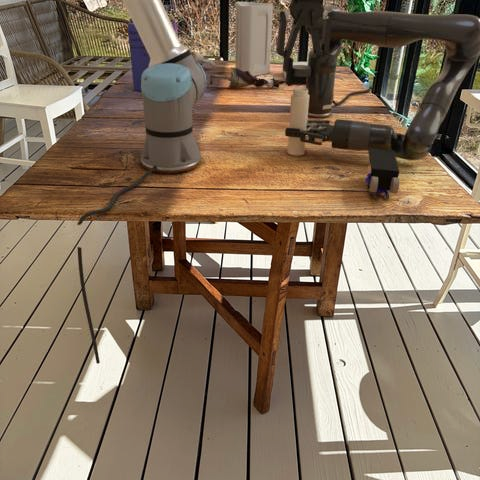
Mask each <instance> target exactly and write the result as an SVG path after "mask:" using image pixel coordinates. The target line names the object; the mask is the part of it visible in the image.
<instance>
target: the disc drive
mask: <svg viewBox="0 0 480 480" xmlns="http://www.w3.org/2000/svg"><path fill="white" fill-rule="evenodd" d="M293 65H306V66H308V61H293ZM281 71H282V74H283V76H284V80H286V72H285V71H284V70H283V69H281ZM306 79H307V77H298V76H293V75H292V81H291V85H306Z"/></svg>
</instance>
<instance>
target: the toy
mask: <svg viewBox="0 0 480 480" xmlns="http://www.w3.org/2000/svg"><path fill="white" fill-rule="evenodd" d="M194 52H195V53H196V59H195V61H196V62H197V63H199V64H200V65H201V66H202V65H204V64H209V65H210V66H211V67H213V68H214V67H217V66H216V63H215V62H214V61H213V60H211V59H209V58H206V59H205V57H204V56H203V55H201V54H198V52H197V51H194Z"/></svg>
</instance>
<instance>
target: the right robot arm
mask: <svg viewBox="0 0 480 480" xmlns="http://www.w3.org/2000/svg"><path fill="white" fill-rule="evenodd" d="M324 9H325V10H328V11H332V12H334V13H335V15H334V18H333V20H332V23H331V34H330V45H329V54H328V55H327V56H326V55H325V56H323V57H322V58H321V60H320V69H319V71H316V73H315V83H314V86H311V85H310V84H309V83H308V81H309V76H308V77H307V79H306V84H305V88H307V89H308V91H309V92H308V94H309V95H310V96H309V107H308V117H309V118H310V117H311V118H318V119H319V118H320V119H321V118H328V117H330V116H332V109H333V108H332V107H333V105H334V106H340V105H341V104H343V103H344V102H345V101H347V100H348V99H349V98H350V97H351V96H353V95H358V94H359V95H360V94H366V93H369V92H371V90H374V87H373V86H372V85H370V86H369V87H368V89H365V90H358V91H352V92H350V93H348V94H347V95H346V96H345V97H343V99H341V101H339V102H337V101H335V99H334V97H335V94H334V90H335V82H336V81H335V80H336V73H337V70H336V69H337V62H338V56H339V55H340V52H341V48H342V43H343V40H345V41H350V42H354V43H359V44H364V45H370V46H375V47H382V48H388V49H389V48H390V49H398V48H402V47H405V46H408V45H411V44H412V43H415V42H417V41H420V40H421V41H422V40H432V41H440V42H444V51H445V53H446V54H445V55H446V56H445V60H444V63H443V67H442V69H441V72H440V73H439V75H438V77H437V78H436V79H435V80H434V81H433V82H432V83H431V84H430V85H429V87H427V89H426V91H425V92H424V94H423V96H422V99H421V101H420V103H419V104H418V107H417V109H416V112H415V114H414V116H413V118H412V119H411V121H410V123H409V125H408V126H407V129H406V131H405V134H403V133H401V132H400V133H399V132H396V131H395V128H394V127H393V126H392V125H389V124H381V123H371V122H367V121H361V120H352V119H350V120H349V119H340V118H338V119H337V118H336V119H335V120H334V122H333V123H334V124H330V121H329V120H317V119H315V120H313V119H312V120H311V119H309V120H308V119H307V129H297V128H289V127H286V128H285V130H284V131H285V132H284V135H285V137H287V138H288V137H297V138H299V139H300V141H301V142H305V144H311V145H317V146H322V145H323V143H325V142H331V148H332V149H337V150H346V151H353V152H354V151H356V152H368V149H378V150H388V151H394V153H395V157H396V158H398V159H401V160H405V161H412V162H413V161H420V160H423V159H425V158H426V157H428V155H429V154H430V152H431V149H432V147H433V144H434V142H435V139H436V137H437V135H438V133H439V129H440V127H441V124H442V123H443V122H444V120H445V118H446V116H447V114H448V111H449V109H450V107H451V105H452V103H453V100H454V98H455V96H456V93H457V91H458V89H459V88H460V86H461V84H462V82H463V81H464V80H465V77H466V75H468V72H469V71H470V69H472V66H473V65H474V64H475V62H476V61H477V59H478V58H479V57H480V17H479V16H476V15H473V14H465V13H464V14H462V13H461V14H454V13H453V14H421V13H405V12H398V11H387V10H386V11H385V10H373V11H371V10H369V11H359V12H358V11H357V12H344V11H343V10H342V9H341V8H340V7H339V6H337V5H333V4H332V5H324ZM323 22H324V19H323V14H322V15H321V17H320V18H319V19H318V21H317V23H318V34H319V41H320V48H321V47H322V34H323ZM304 26H305V29H306V32H307V33H308V34H309V36H311V32H310V28H309V26H308V25H304ZM311 57H314V51H313V47H312V48H311V49H310V50H309V52H308V56H307V62H308V66H310V61H311ZM305 135H306V136H305Z"/></svg>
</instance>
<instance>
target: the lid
mask: <svg viewBox="0 0 480 480" xmlns="http://www.w3.org/2000/svg"><path fill="white" fill-rule="evenodd" d="M292 75H293V76H298V77H308V76H311V75H312V67H311V66H306V65H293V69H292Z"/></svg>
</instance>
